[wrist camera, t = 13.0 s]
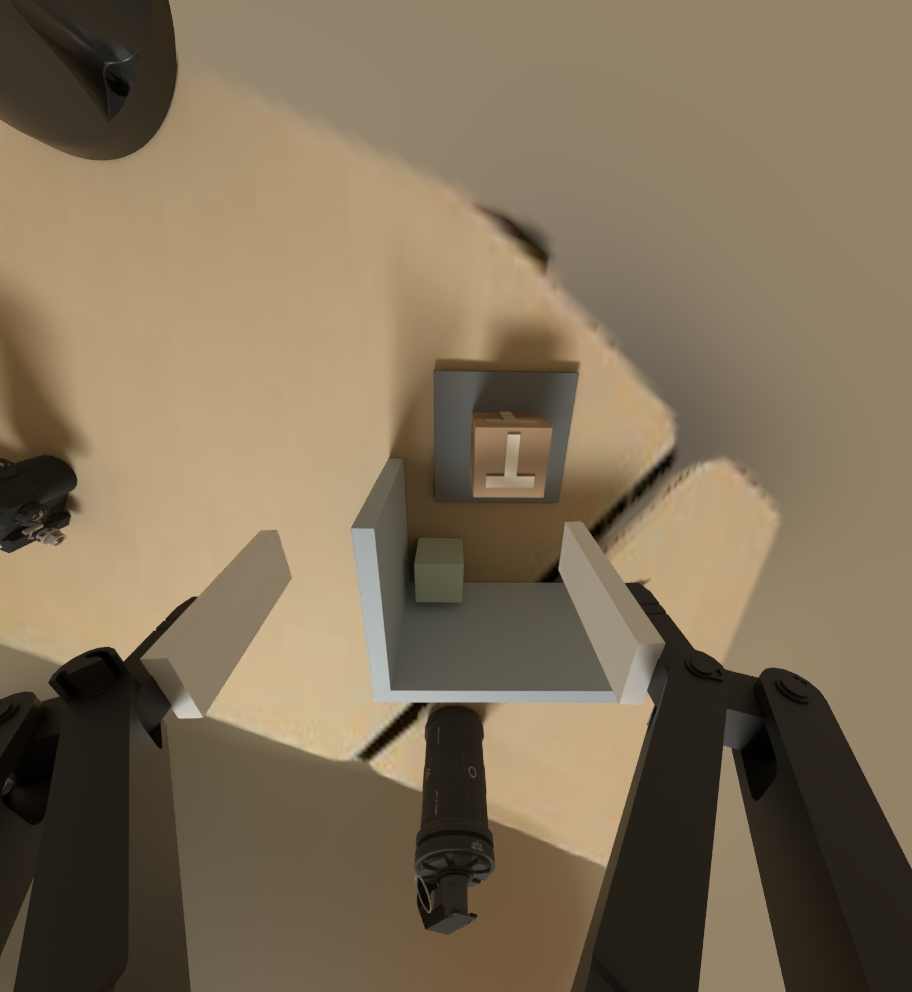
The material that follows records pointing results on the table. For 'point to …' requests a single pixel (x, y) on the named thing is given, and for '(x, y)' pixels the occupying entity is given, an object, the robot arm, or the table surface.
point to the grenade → (452, 820)
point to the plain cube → (439, 570)
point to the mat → (497, 394)
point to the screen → (463, 625)
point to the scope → (34, 501)
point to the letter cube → (509, 454)
